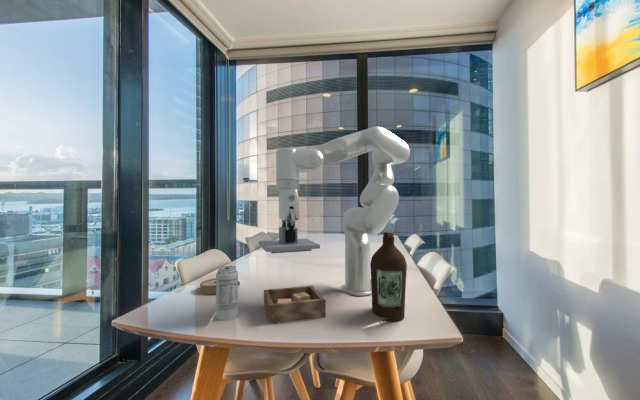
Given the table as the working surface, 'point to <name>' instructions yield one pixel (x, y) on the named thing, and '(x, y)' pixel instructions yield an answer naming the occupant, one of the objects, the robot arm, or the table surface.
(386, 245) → the olive oil
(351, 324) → the table surface
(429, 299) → the table surface
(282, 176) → the robot arm
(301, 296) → the maple block
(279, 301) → the terracotta block
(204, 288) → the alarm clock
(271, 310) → the box
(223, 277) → the energy drink can
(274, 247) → the lid
